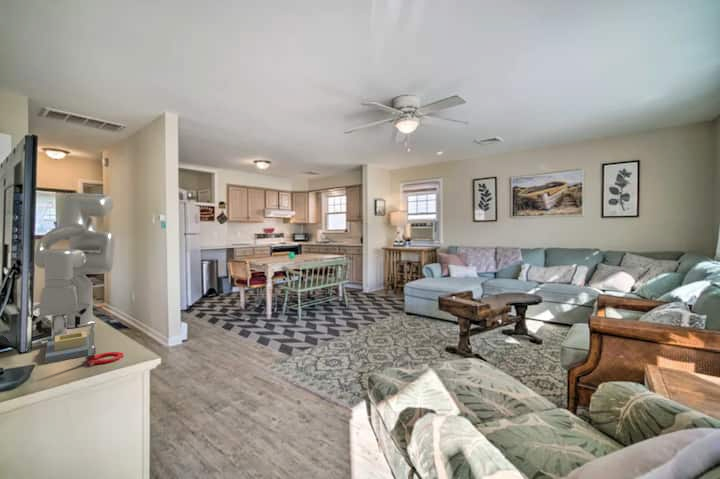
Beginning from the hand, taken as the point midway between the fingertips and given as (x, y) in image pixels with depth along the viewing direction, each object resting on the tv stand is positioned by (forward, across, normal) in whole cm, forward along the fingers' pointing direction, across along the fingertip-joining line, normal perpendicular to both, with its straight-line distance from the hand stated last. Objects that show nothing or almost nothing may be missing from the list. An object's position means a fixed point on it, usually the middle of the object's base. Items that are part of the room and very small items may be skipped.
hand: (58, 329), depth 115 cm
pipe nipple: (+5, 0, 0) cm, 5 cm away
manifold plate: (+5, -3, +14) cm, 15 cm away
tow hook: (+6, -11, +30) cm, 33 cm away
